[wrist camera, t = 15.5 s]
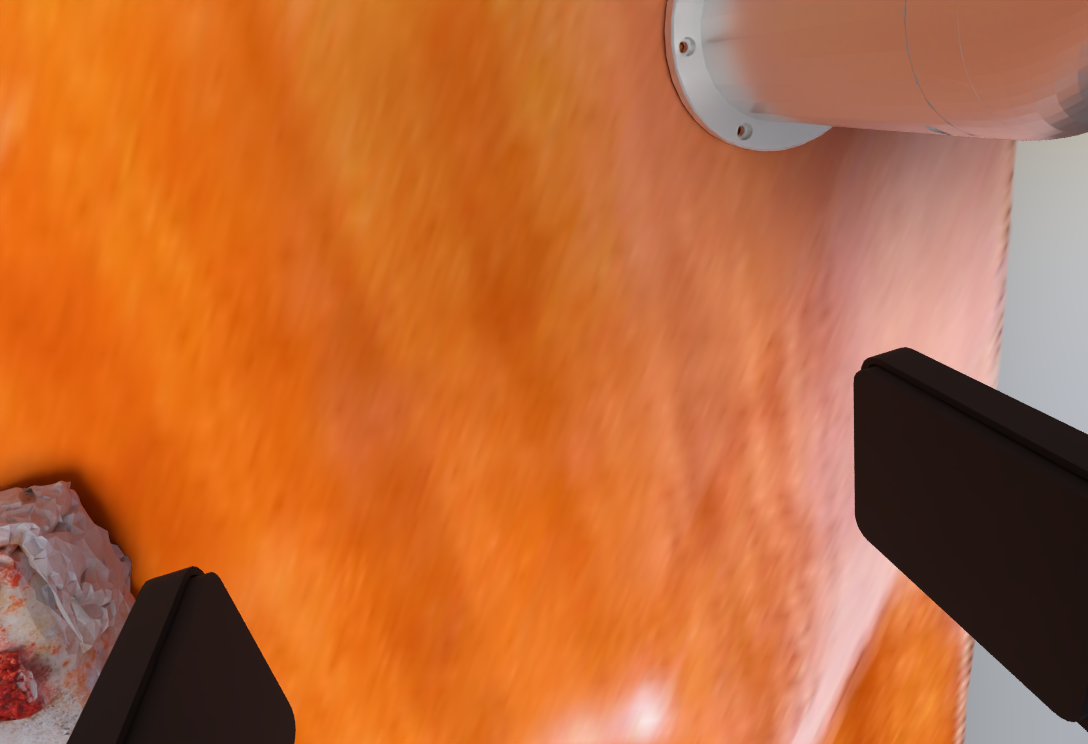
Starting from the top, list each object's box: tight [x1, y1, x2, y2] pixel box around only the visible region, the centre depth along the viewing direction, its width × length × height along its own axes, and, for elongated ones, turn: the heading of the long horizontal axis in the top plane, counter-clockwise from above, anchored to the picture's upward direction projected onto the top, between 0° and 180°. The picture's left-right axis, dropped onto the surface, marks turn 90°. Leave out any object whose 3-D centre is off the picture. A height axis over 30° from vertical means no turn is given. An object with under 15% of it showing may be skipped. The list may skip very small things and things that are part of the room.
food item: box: [0, 481, 136, 744], centre depth 34 cm, size 14×8×10 cm, turn 11°
